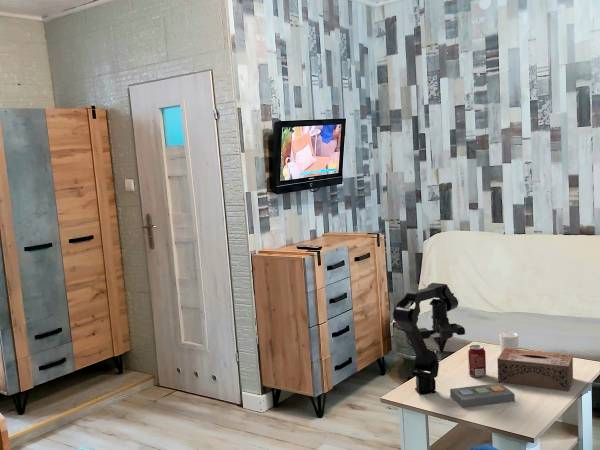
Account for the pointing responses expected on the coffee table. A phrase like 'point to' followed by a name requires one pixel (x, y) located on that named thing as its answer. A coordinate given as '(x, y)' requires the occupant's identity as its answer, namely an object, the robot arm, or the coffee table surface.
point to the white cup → (508, 340)
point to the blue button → (466, 392)
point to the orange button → (496, 389)
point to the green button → (481, 390)
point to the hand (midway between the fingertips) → (441, 352)
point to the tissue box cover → (535, 369)
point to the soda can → (477, 361)
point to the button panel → (482, 396)
